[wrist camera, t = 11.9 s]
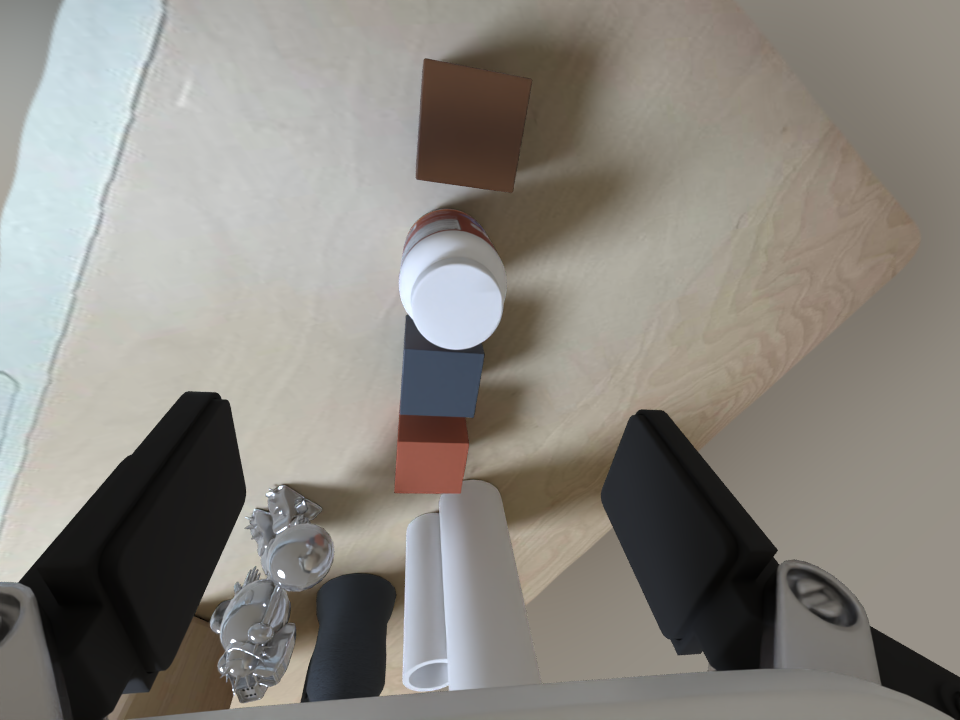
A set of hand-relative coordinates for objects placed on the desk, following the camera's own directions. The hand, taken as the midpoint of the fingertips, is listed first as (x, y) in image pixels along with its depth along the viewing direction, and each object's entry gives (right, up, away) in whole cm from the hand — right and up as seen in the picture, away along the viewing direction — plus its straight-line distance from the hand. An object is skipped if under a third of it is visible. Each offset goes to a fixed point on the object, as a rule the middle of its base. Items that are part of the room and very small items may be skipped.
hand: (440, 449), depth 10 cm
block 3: (-4, -4, +28) cm, 29 cm away
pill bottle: (-1, +10, +21) cm, 23 cm away
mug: (-14, -27, +40) cm, 50 cm away
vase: (-1, -14, +35) cm, 38 cm away
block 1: (0, +17, +17) cm, 24 cm away
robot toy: (-17, -12, +31) cm, 37 cm away
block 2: (-2, +3, +24) cm, 25 cm away
